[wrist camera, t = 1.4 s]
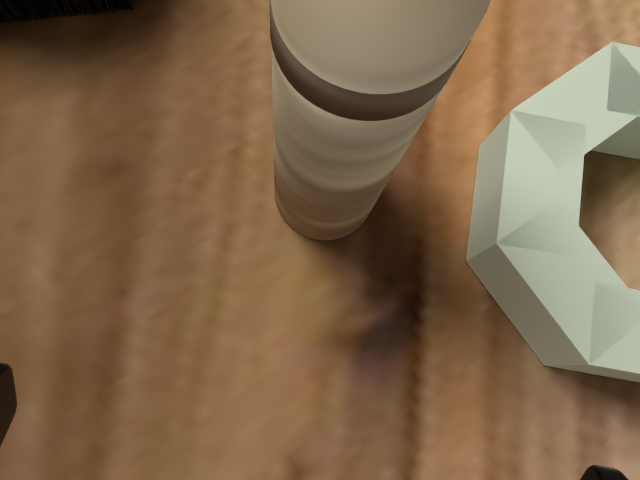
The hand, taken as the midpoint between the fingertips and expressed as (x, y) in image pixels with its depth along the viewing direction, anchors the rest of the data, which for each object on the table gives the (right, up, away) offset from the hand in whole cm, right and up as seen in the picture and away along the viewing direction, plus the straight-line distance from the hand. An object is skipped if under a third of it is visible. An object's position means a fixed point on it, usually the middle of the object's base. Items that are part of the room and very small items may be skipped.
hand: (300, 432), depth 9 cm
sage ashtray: (+12, +3, +16) cm, 20 cm away
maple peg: (0, +5, +15) cm, 16 cm away
